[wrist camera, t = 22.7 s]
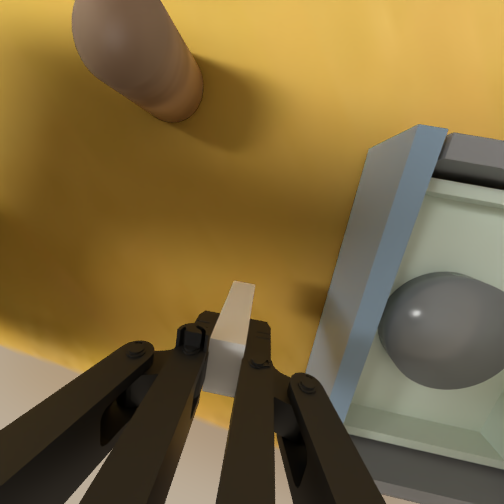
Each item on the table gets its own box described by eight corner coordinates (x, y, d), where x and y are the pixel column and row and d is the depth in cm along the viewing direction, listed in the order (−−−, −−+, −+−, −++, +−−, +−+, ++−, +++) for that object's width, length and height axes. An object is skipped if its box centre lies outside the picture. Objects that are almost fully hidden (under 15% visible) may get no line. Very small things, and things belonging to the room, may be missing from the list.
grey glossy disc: (365, 360, 20) (374, 377, 18) (395, 262, 18) (409, 270, 16) (472, 379, 20) (493, 399, 18) (516, 281, 18) (546, 292, 16)
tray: (295, 407, 23) (302, 479, 17) (369, 148, 17) (418, 124, 11) (471, 447, 22) (542, 538, 16) (613, 191, 16) (805, 188, 10)
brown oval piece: (137, 116, 18) (72, 79, 12) (140, 41, 17) (70, -40, 11) (199, 127, 18) (162, 94, 12) (207, 52, 17) (171, -26, 11)
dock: (313, 409, 23) (327, 481, 17) (392, 154, 17) (454, 132, 11) (483, 447, 22) (556, 536, 16) (627, 194, 16) (822, 194, 11)
